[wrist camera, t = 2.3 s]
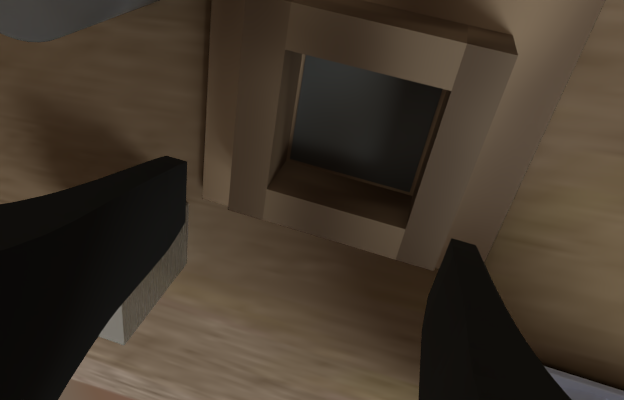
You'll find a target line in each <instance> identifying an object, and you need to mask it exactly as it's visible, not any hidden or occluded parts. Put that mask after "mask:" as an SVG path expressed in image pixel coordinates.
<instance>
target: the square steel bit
mask: <svg viewBox="0 0 624 400" xmlns="http://www.w3.org/2000/svg"><path fill="white" fill-rule="evenodd" d="M188 211H189V203H187V202H186V220H185V224H184V226H183V227H182V229H181V231H180V232H179V234H178V235H177V237H176V239H175V240H174V242H173V243H172V245H171V246H170V248H169V249H168V251H167V252H166V253H165V255H164V256H163V257H162V258H161V259H160V261H159V262H158V263H157V264H156V265H155V266H154V268H153V269H152V270H151V271H150V272H149V274H148V275H147V276H146V277H145V278H144V279H143V281H142V282H141V283H140V284H139V285H138V286H137V288H136V289H135V290H134V291H133V292H132V293H131V294H130V296H129V297H128V298H127V299H126V300H125V301H124V303H123V304H122V305H121V306H120V307H119V309H118V310H117V311H116V312H115V314H114V315H113V316H112V317H111V319H110V320H109V321H108V323H107V324H106V326H105V327H104V329H103V330H102V332H101V333H100V335H99V337H102V338H104V339H107V340H110V341H113V342H116V343H119V344H122V345H125V344H126V343H127V341H128V340H129V339H130V337H131V336H132V335H133V333H134V332H135V331H136V329H137V328H138V327H139V326H140V324H141V323H142V322H143V320H144V319H145V318H146V316H147V315H148V314H149V312H150V311H151V310H152V308H153V307H154V306H155V305H156V303H157V302H158V301H159V299H160V298H161V297H162V295H163V294H164V293H165V291H166V290H167V289H168V287H169V286H170V285H171V284H172V282H173V281H174V280H175V278H176V277H177V276H178V274H179V273H180V272H181V270H182V269H183V268H184V267H185V265H186V264H187V244H188Z"/></svg>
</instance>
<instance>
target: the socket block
mask: <svg viewBox="0 0 624 400" xmlns="http://www.w3.org/2000/svg"><path fill="white" fill-rule="evenodd" d="M605 1H606V0H212V4H211V26H210V47H209V68H208V89H207V110H206V131H205V152H204V174H203V195H202V199H205V200H208V201H212V202H215V203H218V204H222V205H225V206H228V210H231V211H234V212H237V213H241V214H244V215H247V216H251V217H254V218H258V219H261V220H264V221H268V222H271V223H274V224H278V225H281V226H284V227H288V228H291V229H294V230H298V231H301V232H304V233H308V234H311V235H314V236H318V237H321V238H324V239H328V240H331V241H334V242H338V243H341V244H344V245H348V246H351V247H354V248H358V249H361V250H364V251H368V252H371V253H375V254H378V255H381V256H385V257H388V258H391V259H395V260H398V261H401V262H405V263H408V264H411V265H415V266H418V267H421V268H425V269H428V270H431V271H434V269H435V268H436V269H439V268H440V266H441V263H442V261H443V258H444V256H445V253H446V251H447V248H448V246H449V243H450V241H451V238H453V239H456V240H460V241H463V242H467V243H470V244H474V245H476V246H477V248H478V250H479V252H480V255H481V257H482V259H483V262H485V260H486V258H487V256H488V254H489V252H490V249H491V247H492V245H493V243H494V241H495V239H496V236H497V234H498V232H499V230H500V228H501V226H502V223H503V221H504V219H505V217H506V215H507V213H508V210H509V208H510V206H511V204H512V202H513V200H514V198H515V195H516V193H517V191H518V189H519V187H520V185H521V182H522V180H523V178H524V176H525V174H526V172H527V169H528V167H529V165H530V163H531V161H532V159H533V156H534V154H535V152H536V150H537V148H538V146H539V143H540V141H541V139H542V137H543V135H544V133H545V130H546V128H547V126H548V124H549V122H550V120H551V117H552V115H553V113H554V111H555V109H556V107H557V104H558V102H559V100H560V98H561V96H562V94H563V91H564V89H565V87H566V85H567V83H568V81H569V79H570V76H571V74H572V72H573V70H574V68H575V66H576V63H577V61H578V59H579V57H580V55H581V53H582V50H583V48H584V46H585V44H586V42H587V40H588V37H589V35H590V33H591V31H592V29H593V27H594V24H595V22H596V20H597V18H598V16H599V14H600V11H601V9H602V7H603V5H604V3H605Z"/></svg>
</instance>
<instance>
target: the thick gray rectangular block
mask: <svg viewBox="0 0 624 400" xmlns="http://www.w3.org/2000/svg"><path fill="white" fill-rule="evenodd" d="M157 1H159V0H0V33H1V34H4V35H6V36H8V37H11V38H14V39H17V40H22V41H27V42H45V41H51V40H54V39H57V38H60V37H63V36H65V35H68V34H71V33H74V32H76V31H79V30H82V29H84V28H87V27H90V26H92V25H95V24H98V23H100V22H103V21H106V20H108V19H111V18H114V17H116V16H119V15H122V14H124V13H127V12H130V11H132V10H135V9H138V8H141V7H143V6H146V5H149V4H151V3H154V2H157Z"/></svg>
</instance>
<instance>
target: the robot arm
mask: <svg viewBox="0 0 624 400" xmlns="http://www.w3.org/2000/svg"><path fill="white" fill-rule="evenodd" d="M186 181H187V162H186V161H183V160H179V159H176V158H172V157H169V156H164V157H160V158H157V159H154V160H151V161H148V162H145V163H142V164H140V165H137V166H134V167H131V168H129V169H126V170H123V171H120V172H117V173H115V174H112V175H109V176H106V177H104V178H101V179H98V180H95V181H91V182H88V183H85V184H82V185H79V186H76V187H72V188H69V189H66V190H63V191H59V192H56V193H52V194H48V195H44V196H40V197H35V198H31V199H27V200H22V201H17V202H12V203H6V204H0V400H58V399H59V397H60V395H61V393H62V392H63V390H64V389H65V387H66V385H67V384H68V382H69V380H70V379H71V377H72V376H73V374H74V373H75V371H76V369H77V368H78V366H79V365H80V363H81V362H82V360H83V359H84V357H85V355H86V354H87V352H88V351H89V349H90V348H91V346H92V345H93V343H94V342H95V340H96V339H97V338H98V336H99V335H100V333H101V332H102V330H103V329H104V327H105V326H106V324H107V323H108V321H109V320H110V319H111V317H112V316H113V315H114V314H115V312H116V311H117V310H118V309H119V307H120V306H121V305H122V304H123V303H124V301H125V300H126V299H127V298H128V297H129V296H130V294H131V293H132V292H133V291H134V290H135V289H136V288H137V286H138V285H139V284H140V283H141V282H142V281H143V279H144V278H145V277H146V276H147V275H148V274H149V272H150V271H151V270H152V269H153V268H154V266H155V265H156V264H157V263H158V262H159V261H160V259H161V258H162V257H163V256H164V255H165V253H166V252H167V251H168V249H169V248H170V246H171V245H172V243H173V242H174V240H175V239H176V237H177V235H178V234H179V232H180V231H181V229H182V227H183V226H184V224H185V220H186ZM419 400H624V391H622V390H619V389H616V388H613V387H609V386H606V385H603V384H600V383H597V382H594V381H590V380H587V379H584V378H581V377H578V376H575V375H571V374H568V373H565V372H562V371H559V370H556V369H552V368H549V367H546V366H543V364H542V363H541V361H540V360H539V359H538V357H537V356H536V355H535V353H534V352H533V351H532V349H531V348H530V346H529V345H528V343H527V342H526V340H525V339H524V337H523V336H522V334H521V333H520V331H519V329H518V328H517V326H516V325H515V323H514V321H513V320H512V318H511V316H510V314H509V312H508V311H507V309H506V307H505V305H504V303H503V301H502V299H501V297H500V295H499V293H498V292H497V290H496V287H495V285H494V283H493V281H492V279H491V277H490V275H489V273H488V271H487V268H486V266H485V264H484V262H483V259H482V257H481V255H480V252H479V250H478V248H477V246H476V245H474V244H470V243H467V242H463V241H460V240H456V239H453V238H451V241H450V243H449V246H448V248H447V251H446V253H445V256H444V258H443V261H442V263H441V266H440V268H439V271H438V273H437V276H436V278H435V281H434V283H433V286H432V288H431V291H430V293H429V296H428V300H427V305H426V310H425V316H424V322H423V328H422V339H421V359H420V382H419Z"/></svg>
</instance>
